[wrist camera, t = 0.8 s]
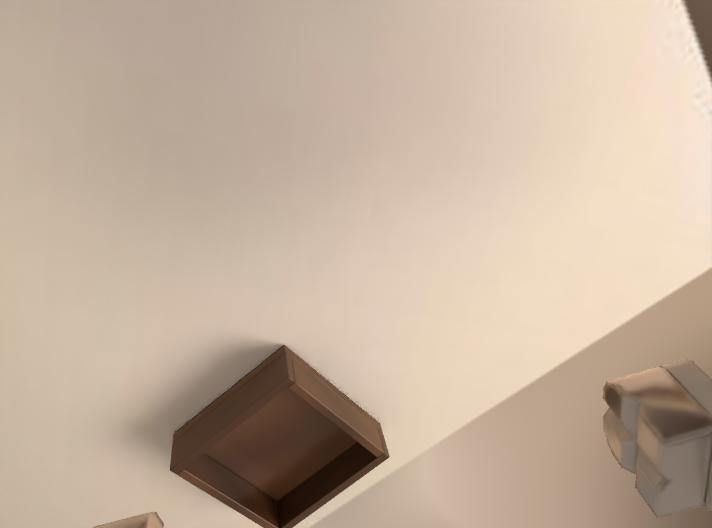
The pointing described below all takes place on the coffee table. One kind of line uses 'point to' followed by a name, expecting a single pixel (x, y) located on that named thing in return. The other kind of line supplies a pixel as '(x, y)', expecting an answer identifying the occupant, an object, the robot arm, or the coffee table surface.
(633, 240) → the coffee table surface
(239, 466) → the tray
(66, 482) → the coffee table surface
